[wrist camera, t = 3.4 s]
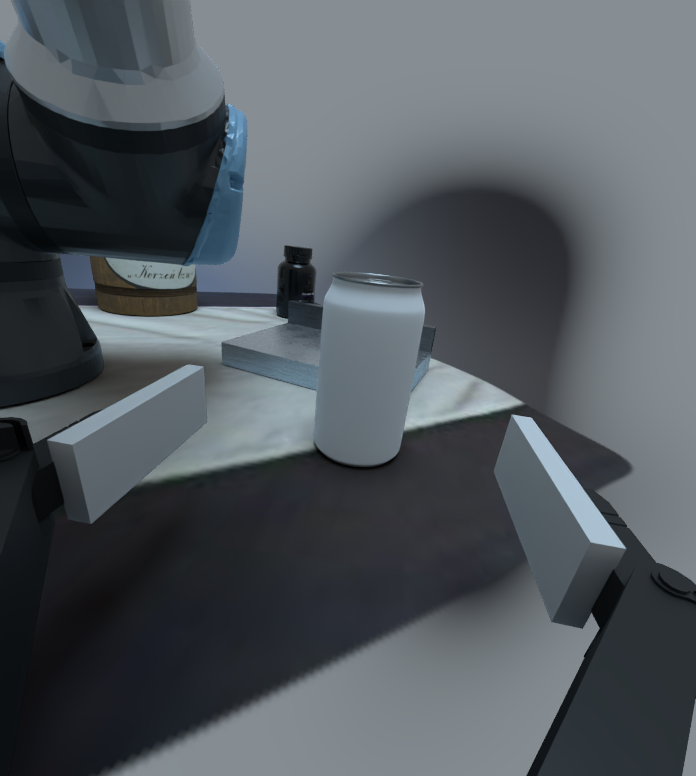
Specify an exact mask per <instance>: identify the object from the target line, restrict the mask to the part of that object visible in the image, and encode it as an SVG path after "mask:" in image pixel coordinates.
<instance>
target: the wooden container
mask: <svg viewBox="0 0 696 776" xmlns="http://www.w3.org/2000/svg"><path fill="white" fill-rule="evenodd" d="M90 261H91V269H92V274H93V280H94V281H95V290H96V296H97V302H98V306H99V308H100V309H102V310H104V311H107V312H110V313H115V314H121V315H131V316H170V315H179V314H185V313H189V312H192V311H194V310H196V309H197V291H196V290H197V289H196V267H195V265H194V264H191V265H190V266H182V265H177V264H167V263H157V262H146V261H136V260H126V259H115V258H105V257H95V256H90Z"/></svg>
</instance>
